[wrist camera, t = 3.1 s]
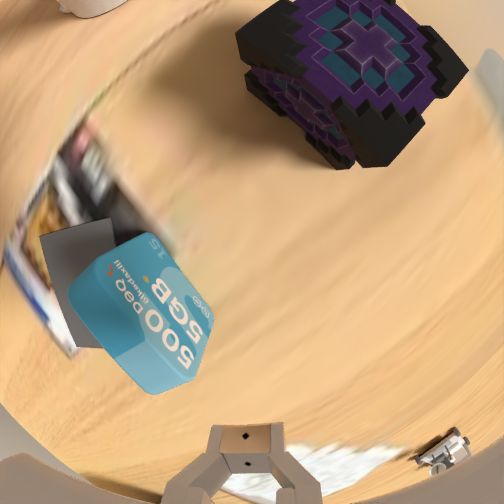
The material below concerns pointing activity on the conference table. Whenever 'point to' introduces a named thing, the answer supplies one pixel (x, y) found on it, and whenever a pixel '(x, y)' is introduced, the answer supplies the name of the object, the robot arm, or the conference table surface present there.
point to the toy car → (446, 453)
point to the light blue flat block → (144, 313)
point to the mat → (76, 266)
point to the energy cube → (348, 74)
